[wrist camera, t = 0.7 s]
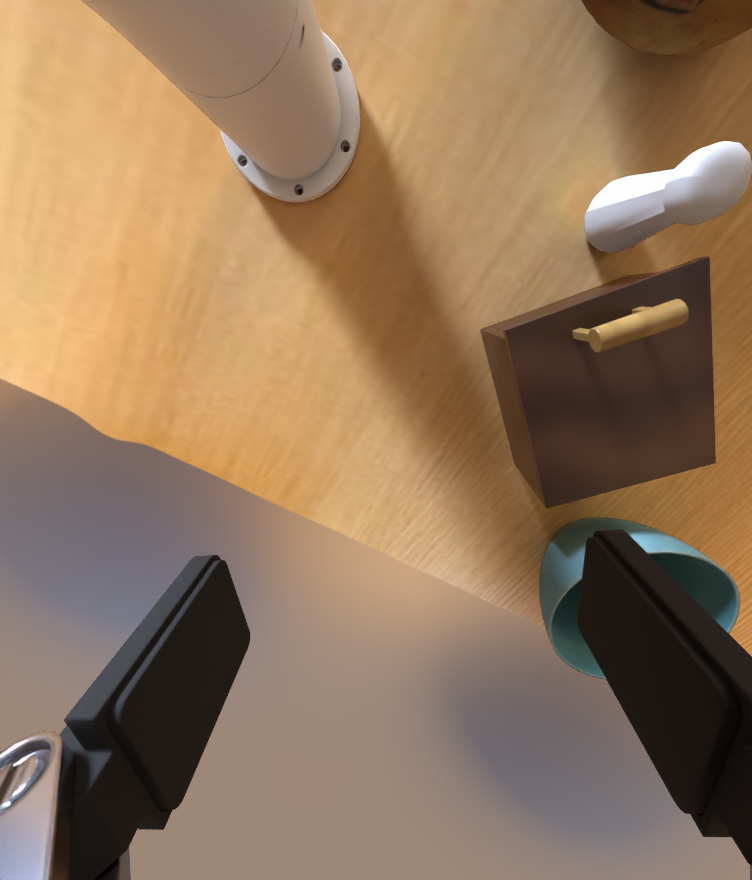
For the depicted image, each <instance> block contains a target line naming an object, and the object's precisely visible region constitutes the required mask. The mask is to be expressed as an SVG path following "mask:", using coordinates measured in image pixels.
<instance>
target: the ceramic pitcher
mask: <svg viewBox="0 0 752 880" xmlns="http://www.w3.org/2000/svg"><path fill="white" fill-rule="evenodd" d="M582 2H583V4H584V5H585V7H586V9H587V10H588V12H589V13H590V14H591V15H592V16H593V18H594V19H595V21H596V22H597V23H598V24H599V25H600V26H601V27H602V28H603V29H604V30H605V31H606V32H608V33H609V34H610V35H612V36H613V37H615V38H616V39H618V40H620V41H621V42H623V43H625V44H627V45H629V46H630V47H632V48H635V49H639V50H643V51H647V52H651V53H657V54H663V55H671V54H697V53H700V52H702V51H704V50H707V49H709V48H711V47H714V46H716V45H718V44H721V43H723V42H726V41H728V40H730V39H732V38H734V37H736V36H738V35H740V34H741V33H743V32H745V31H747V30H748V29H750V28H752V0H582Z"/></svg>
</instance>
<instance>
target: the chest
mask: <svg viewBox="0 0 752 880" xmlns="http://www.w3.org/2000/svg"><path fill="white" fill-rule="evenodd" d="M654 274H656V273H648V274H638V275H628V276H625V277H622V278H620V279H617V280H614V281H611V282H609V283H606V284H603V285H601V286H598V287H595V288H592V289H590V290H587V291H584V292H582V293H579V294H576V295H573V296H571V297H568V298H565V299H562V300H560V301H557V302H554V303H552V304H549V305H546V306H543V307H541V308H538V309H535V310H533V311H530V312H527V313H524V314H522V315H519V316H516V317H514V318H511V319H508V320H505V321H503V322H500V323H497V324H494V325H492V326H489V327H486V328H484V329H481V330H480V331H481V335H482V338H483V342H484V346H485V350H486V354H487V358H488V362H489V366H490V370H491V374H492V378H493V381H494V385H495V389H496V393H497V397H498V401H499V405H500V409H501V413H502V417H503V420H504V424H505V428H506V432H507V436H508V440H509V444H510V448H511V452H512V456H513V459H514V463H515V465H516V467H517V468H518V469H519V471H520V472H521V474H522V475H523V476H524V478H525V479H526V481H527V482H528V483H529V485H530V486H531V487H532V489H533V490H534V492H535V493H536V494H537V496H538V497H539V499H540V500H541V501H542V503H543V500H542V496H541V492H540V487H539V483H538V479H537V475H536V470H535V466H534V462H533V457H532V453H531V449H530V445H529V440H528V436H527V432H526V428H525V423H524V419H523V415H522V411H521V406H520V402H519V398H518V393H517V389H516V385H515V381H514V376H513V372H512V368H511V364H510V359H509V355H508V351H507V347H506V342H505V338H504V334H503V329H505V328H508V327H511V326H513V325H516V324H519V323H522V322H524V321H527V320H530V319H533V318H535V317H538V316H541V315H544V314H546V313H549V312H552V311H555V310H557V309H560V308H563V307H566V306H568V305H571V304H574V303H577V302H579V301H582V300H585V299H588V298H590V297H593V296H596V295H599V294H601V293H604V292H607V291H610V290H612V289H615V288H618V287H621V286H623V285H626V284H629V283H632V282H634V281H637V280H640V279H643V278H645V277H648V276H651V275H654Z"/></svg>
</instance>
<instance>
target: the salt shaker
mask: <svg viewBox="0 0 752 880" xmlns="http://www.w3.org/2000/svg"><path fill="white" fill-rule="evenodd" d="M751 174H752V162H751V157H750V153H749V152H748V151H747V150H746V149H745V148H744V147H743V146H742V145H741V144H740V143H737V142H729V141H722V142H718V143H715V144H712V145H709V146H706V147H704V148H701V149H698V150H697V151H695V152H693V153H691V154H690V155H689V156H688V157H687V158H686V159H685V160H684V161H682V162H681V163H680V164H679V165H678V166H677V167H676V168H675V169H671V170H665V171H658V172H652V173H645V174H639V175H632V176H626V177H624V178H621V179H618V180H615V181H612V182H610V183H609V184H608V185H607V186H606V187H605V188H604V189H603V190H601V191H600V192H599V193H598V194H597V195H596V196H595V197H594V199H593V201H592V203H591V205H590V207H589V208H588V210H587V212H586V215H585V217H584V226H585V236H586V240H587V241H588V242H589V243H591V244H592V245H593V246H594V247H595V248H597V249H598V250H599V251H605V252H611V253H617V252H620V251H623V250H626V249H629V248H631V247H633V246H635V245H637V244H638V243H640V242H642V241H644V240H646V239H647V238H649V237H651V236H653V235H655V234H656V233H658V232H660V231H662V230H664V229H665V228H667V227H669V226H671V225H673V224H674V223H681V224H687V225H695V224H700V223H703V222H706V221H708V220H711V219H714V218H716V217H719V216H721V215H723V214H724V213H725V212H727V211H728V210H729V209H730V208H732V207H733V206H734V205H735V204H737V203H738V201H739V200H740V198H741V197H742V195H743V194H744V192H745V191H746V189H747V187H748V185H749V181H750V177H751Z"/></svg>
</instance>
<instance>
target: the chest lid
mask: <svg viewBox="0 0 752 880" xmlns="http://www.w3.org/2000/svg"><path fill="white" fill-rule="evenodd" d="M503 334H504V338H505V342H506V347H507V351H508V355H509V359H510V364H511V368H512V372H513V376H514V381H515V385H516V389H517V393H518V398H519V402H520V406H521V411H522V415H523V419H524V423H525V428H526V432H527V436H528V440H529V445H530V449H531V453H532V457H533V462H534V466H535V470H536V475H537V479H538V483H539V487H540V492H541V496H542V500H543V504H544V506H545V507H546V508H550V507H553V506H557V505H561V504H565V503H568V502H572V501H576V500H580V499H583V498H587V497H591V496H594V495H598V494H602V493H606V492H609V491H613V490H617V489H621V488H624V487H628V486H632V485H635V484H639V483H643V482H647V481H650V480H654V479H658V478H662V477H665V476H669V475H673V474H676V473H680V472H684V471H688V470H691V469H695V468H699V467H702V466H706V465H710V464H714V463H716V455H715V422H714V390H713V357H712V324H711V291H710V258H709V256H707V257H700V258H698V259H695V260H692V261H689V262H687V263H684V264H681V265H678V266H676V267H673V268H670V269H667V270H665V271H662V272H659V273H656V274H654V275H651V276H648V277H645V278H643V279H640V280H637V281H634V282H632V283H629V284H626V285H623V286H621V287H618V288H615V289H612V290H610V291H607V292H604V293H601V294H599V295H596V296H593V297H590V298H588V299H585V300H582V301H579V302H577V303H574V304H571V305H568V306H566V307H563V308H560V309H557V310H555V311H552V312H549V313H546V314H544V315H541V316H538V317H535V318H533V319H530V320H527V321H524V322H522V323H519V324H516V325H513V326H511V327H508V328H505V329H503Z"/></svg>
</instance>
